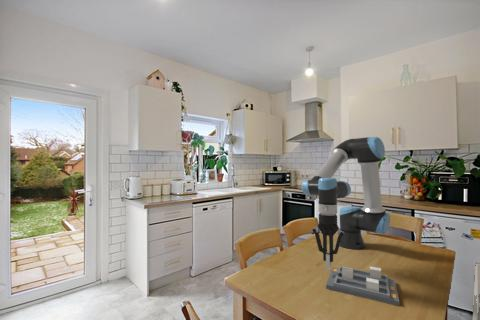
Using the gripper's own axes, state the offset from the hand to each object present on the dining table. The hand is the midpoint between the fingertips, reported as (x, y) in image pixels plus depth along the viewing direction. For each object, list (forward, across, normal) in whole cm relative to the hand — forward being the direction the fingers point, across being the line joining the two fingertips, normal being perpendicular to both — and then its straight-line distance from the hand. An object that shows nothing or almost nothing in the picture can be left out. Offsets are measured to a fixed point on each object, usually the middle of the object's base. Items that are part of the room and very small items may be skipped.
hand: (328, 268), depth 101 cm
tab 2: (+3, +17, +6) cm, 19 cm away
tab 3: (+3, +16, -6) cm, 18 cm away
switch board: (+4, +12, 0) cm, 13 cm away
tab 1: (+3, +7, 0) cm, 8 cm away
